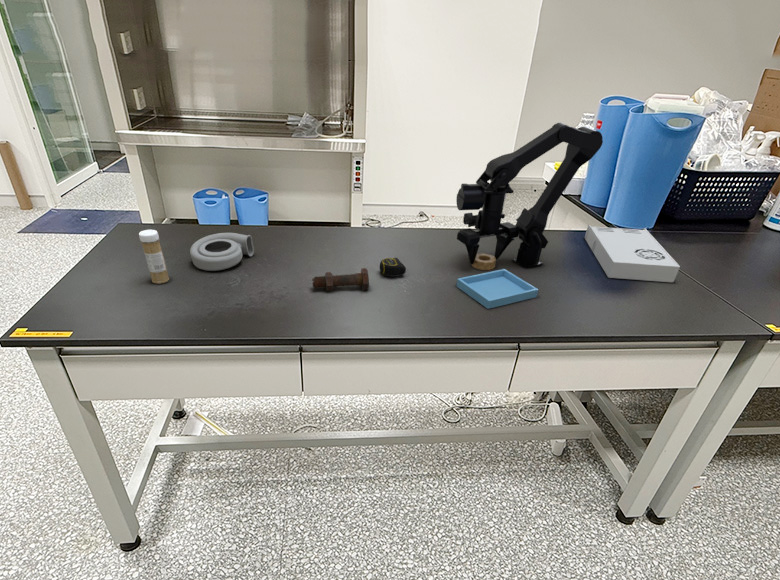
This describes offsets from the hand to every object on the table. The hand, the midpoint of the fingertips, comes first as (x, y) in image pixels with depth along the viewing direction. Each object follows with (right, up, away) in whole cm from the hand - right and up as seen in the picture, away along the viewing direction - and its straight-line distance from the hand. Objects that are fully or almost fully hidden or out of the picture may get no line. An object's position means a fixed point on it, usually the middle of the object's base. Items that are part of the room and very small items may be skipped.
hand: (483, 261), depth 151 cm
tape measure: (-28, -5, -6) cm, 29 cm away
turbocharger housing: (-79, -1, -3) cm, 79 cm away
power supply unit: (+47, +3, +9) cm, 48 cm away
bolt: (-42, -12, -15) cm, 46 cm away
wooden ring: (0, -1, +1) cm, 1 cm away
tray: (+1, -12, -13) cm, 18 cm away
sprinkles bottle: (-91, -10, -15) cm, 93 cm away
